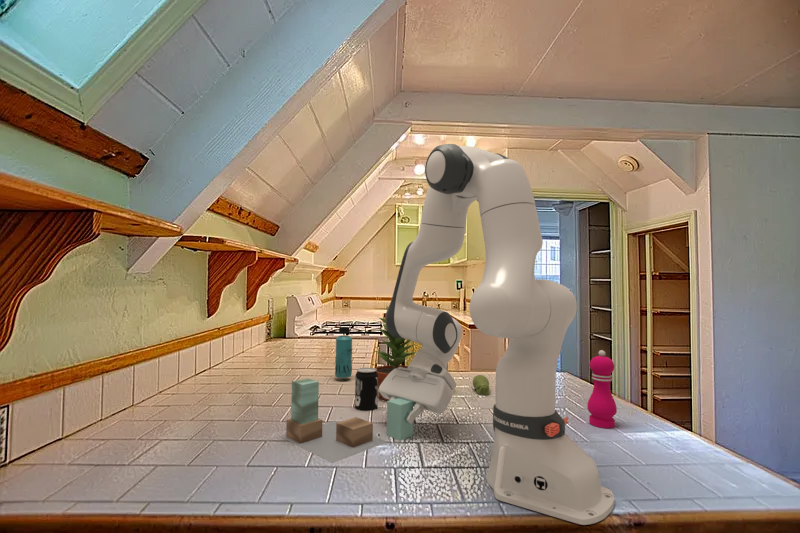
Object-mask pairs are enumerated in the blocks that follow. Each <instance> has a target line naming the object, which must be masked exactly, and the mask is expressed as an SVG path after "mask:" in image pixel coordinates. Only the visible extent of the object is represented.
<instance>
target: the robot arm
mask: <svg viewBox="0 0 800 533" xmlns="http://www.w3.org/2000/svg"><path fill="white" fill-rule="evenodd" d="M425 162H426V163H425V167H424V174H425V175H424V176H425V179H426V182H427V184H428V188H427V191H426V195H425V199H424V201H423V207H422V210H421V219H420V227H419V229H418V233H417V235H416V237H415V239H414V240H413V241H411V242H410V243H408V245H407V246H406V248H405V249H404V253H403V256H402V259H401V261H400V262H401V263H400V265H399V266H400V267H399V271H398V274H397V278H396V282H395V286H394V288H393V293H392V296H391V300H390V303H389V305H388V306H387V307H388V310H387V309H386V313H385V317H384V319H385V323H384V324H385V325H386V327H387V330H388V331H389V333H390V335H391V336H393V337H396V338H401V339H405V340H407V341H408V340H410V342H413V343H416V344H420V345H421V347H420V348H419V349H418V350H417V353H415V354H414V356H413V358H412V360H411V361H410V362H409V365H407V366H408V368H403V367H398V368H396V369H393V370H392V371H391V372H390V373H389V374H388V376H387V377H386V378H385V379H384V381H383V382H382V383H381V385H380V386H379V390H378V393H379V392H380V394H381V395H382V396H383V397H384V398H386V399H389V400H393V399H397V398H401V399H405V400H409V401H412V402H414V403H413V410H412V411H411V412H410V413H407V414H406V416H405V417H404V420H405V421H406V422H407V423H410V424H412V423H413V424H414V421H415V419H416V418H418V417H419V416H420V415H422V414H423V413H424V411H427V412H428V411H429V412H432V413H435V414H439V415H441V414H443V413H444V412H445V411H446V410H447V408H448V406H449V405H450V402H451V400H452V398H453V391H454V390H455V388H456V387H457V382H456V381H455V379H454V378H453V376H452V374H451V373H450V372H449V370H448V371H447V370H446V368H447V364H448V365H449V362H450V361H451V360H452V359H453V358H454V356H455V354H456V352H457V349H458V347H459V345H460V342H461V340H462V337H463V336H462V335H463V327H462V325H461V324H460V322H459V321H458V320H456V318H454V317H452V316H451V314H450V313H449V312H448V311H446V310H442V309H438V308H435V307H431V306H426V305H423V304H418V303H416V302H415V301H414V300H413V299H414V293H415V290H416V286H417V283H418V279H419V275H420V273H421V271H422V270H423V269H424V268H425V267H426V266H428V265H432V264H434V263H440V262H443V261H447V260H450V259H451V258H453V257H454V256H456V255H457V254H458V253H459V252H460V251H461V249H462V247H463V243H464V241H465V235H466V227H467V216H468V215H467V214H468V210H469V207H470V206H471V205H472V203H474V202H476V201H477V202H478V209H479V218H480V222H481V226H482V235H483V241H484V249H485V261H484V271H483V275H482V278H481V281H480V284H479V285H478V286H477V287H476V289H475V290H474V291H473V293H472V295H471V298H470V301H469V315H470V317H471V321H472V323H473V324H474V326H475V327H476V329H477V330H478V331H479V332H481V333H483V334H485V335H487V336H491V337H495V338H501V339H509V343H508V345H507V348H506V350H505V352H504V354H503V356H502V357H501V358H500V359H499V360H498V361H497V364H496V368H495V403H494V404H493V409H492V427H493V428H492V429H493V433H494V434H493V435H494V436H493V444H492V451H491V456H490V457H491V458H490V461H489V466H488V469H487V473H486V477H485V479H486V482H487V484H488V485H489V487H490V488H491V489H492V490H493V496H494V498H495V500H498V501H500V502H504V503H506V504H511V505H513V506H517V507H520V508H524V509H527V510H531V511H534V512H537V513H541V514H544V515H546V516H551V517H554V518H558V519H560V520H563V521H567V522H571V523H574V524H576V525H580V526H581V525H582V526H586V525H593V524H596V523H598V522H601V521H602V520H604V519H606V518H607V517H608V516H609V515H610V514H611V513H612V512H613V510H614V508H615V504H616V503H615V496H614V493H613V491H612V490H611V489H609V488H607V487H606V486H603V485H601V480H600V479H601V478H600V473H599V470H598V466H597V464H596V462H595V460H594V459H593V458H591V457H590V456H589V455H588V454H587V453H586V452H585V451H584V450H583V449H582V448H581V447H579V445H578V444H577V443H575V441H573V439H571V437H569V436H568V435H567V433H566V425H567V424H569V421H568V420H569V417H568V416H566V417H564V418H562V417H561V415H560V414H559V413H558V411H557V409H556V389H557V388H556V386H557V385H556V384H557V382H556V381H557V378H556V377H557V368H558V362H559V357H560V354H561V349H562V347H563V346H562V345H563V343H564V339H565V336H566V333H567V330H568V329H569V326H570V325H571V323H572V322H573V321H574V319H575V317H576V315H577V311H578V310H577V309H578V305H577V304H578V303H577V300H576V296H575V295H574V293H573V292H572V291H571V289H569V288H568V287H567V286H565V285H564V284H561V283H558V282H557V281H553V280H551V279H545V278H544V279H543V278H542V279H537V278H535V267H536V266H535V265H536V257H537V255H538V253H539V252H540V251H541V250H542V247H543V245H544V244H543V236H542V230H541V226H540V220H539V214H538V211H537V205H536V200H535V196H534V193H533V189H532V187H531V184H530V181H529V178H528V176H527V174H526V171H525V169H524V167H523V165H522V164H521V163H520V162H518V161H517V160H515V159H511V158H509V157H507V156H506V155H504V154H501V153H498V152H497V153H496V152H495V153H494V152H491V151H489V150H486V149H482V148H480V147H476V146H470V145H458V144H455V143H445V144H441V145H437V146H435V147H434V148H433V149H432V150H431V151H430V153H429V154H428V157H427V159H426V161H425ZM380 394H379V395H380ZM386 415H387V411H386Z"/></svg>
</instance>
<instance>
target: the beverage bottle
mask: <svg viewBox="0 0 800 533" xmlns="http://www.w3.org/2000/svg"><path fill="white" fill-rule="evenodd" d="M338 333H339V334H349V333H351V331H350V327H349V326H340V327H339V329H338ZM334 361H335V364H334V366H335V367H334V376H335V377H336V378H338V379H339V378H340V379H344V378H351V377H352V375H353V373H352V372H353V338H352V336H351V335H338V336H337V337H336V338H335V359H334Z"/></svg>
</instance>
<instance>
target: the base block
mask: <svg viewBox="0 0 800 533" xmlns="http://www.w3.org/2000/svg"><path fill="white" fill-rule="evenodd" d="M337 422H338V423H336V440H337V441H339V442H341V443H343V444H346V445H348V446H350V447H356V446H359V445H362V444H364V443H367V442H370V441H373V436H374V423H373V422H371V421H368V420H365V419H362V418H360V417H357V416H356V417H355V416H354V417H352V418H349V419H345V420H342V421H337Z"/></svg>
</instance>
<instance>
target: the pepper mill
mask: <svg viewBox="0 0 800 533" xmlns="http://www.w3.org/2000/svg"><path fill="white" fill-rule="evenodd" d="M597 354H598V355H597V356H594V357H592V358H591V360H590V361H589V367H590V368H589V369H590V370H591V371H592V373H591V375H592V376H591V379H592V380H593V389H592V392H591V395H590V396H589V398H588V400H587V410H588V412H589V413H590V415H589V418H588V422H589V424H591V426H594V427H596V428H601V429H613V428H614V427H615V426H616V425H615V424H616V421H615V418H614V416H615V415H616V414H617V412H618V410H617V404H616V400H614V397H613V395H612V390H611V382H612V381H613V378H612V377H613V375H612V373H613V372H614V370H615V363H614V361H613V360H612V359H611V358H610V357H608V356H606V354H607V353H606V351H604V350H603V349H601V350H600V349H599V351H598V353H597Z"/></svg>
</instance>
